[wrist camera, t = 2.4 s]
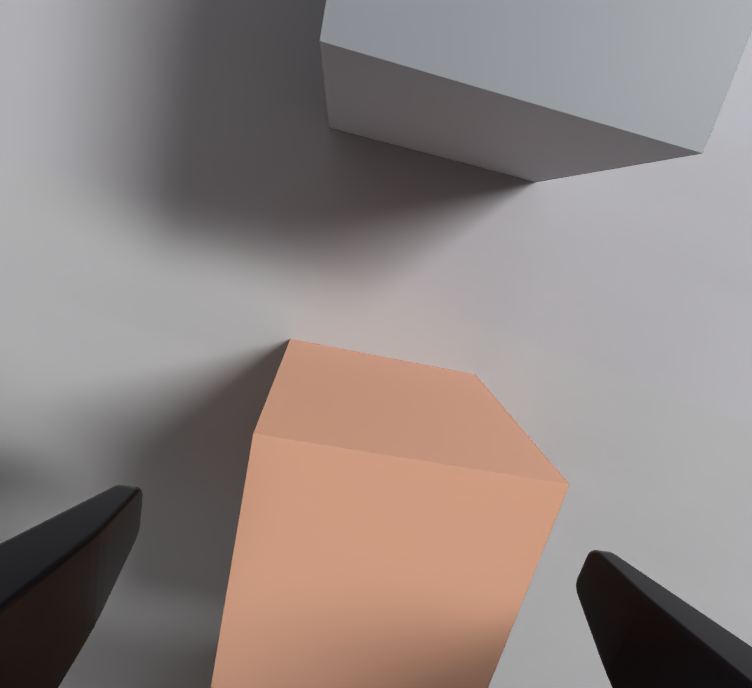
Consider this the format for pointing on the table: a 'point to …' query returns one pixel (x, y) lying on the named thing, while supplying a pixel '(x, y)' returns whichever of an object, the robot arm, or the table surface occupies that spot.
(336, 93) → the grey cube
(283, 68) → the table surface
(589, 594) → the robot arm
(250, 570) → the terracotta cube
